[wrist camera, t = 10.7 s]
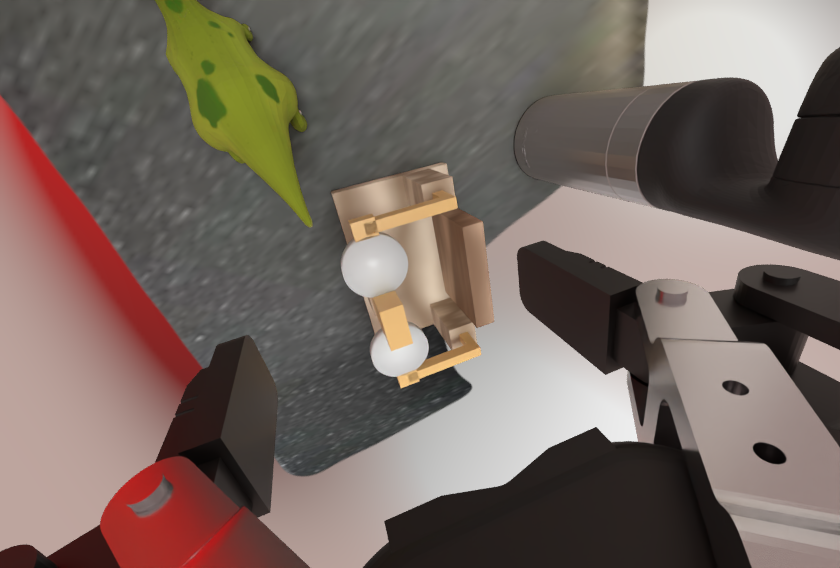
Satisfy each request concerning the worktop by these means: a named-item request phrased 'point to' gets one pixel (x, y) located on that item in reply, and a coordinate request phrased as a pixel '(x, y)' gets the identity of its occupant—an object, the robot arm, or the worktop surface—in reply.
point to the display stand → (428, 252)
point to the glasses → (379, 278)
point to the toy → (235, 95)
